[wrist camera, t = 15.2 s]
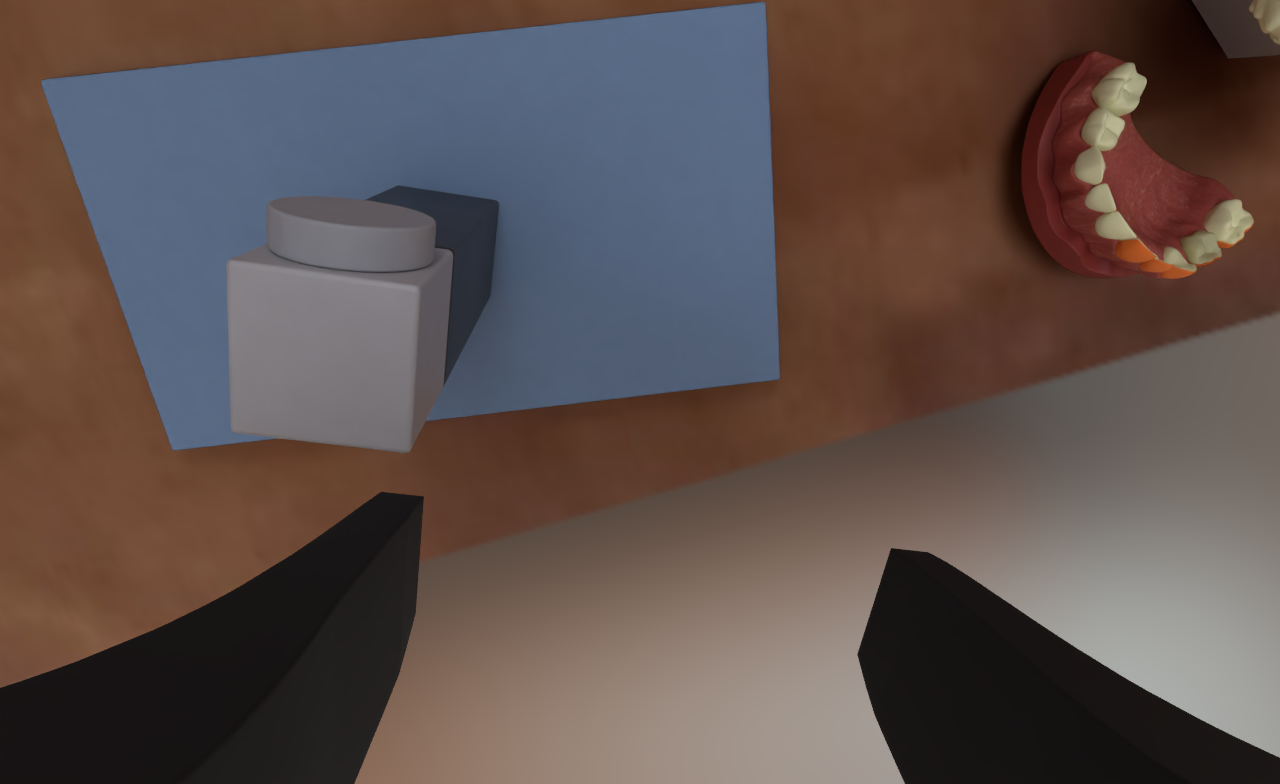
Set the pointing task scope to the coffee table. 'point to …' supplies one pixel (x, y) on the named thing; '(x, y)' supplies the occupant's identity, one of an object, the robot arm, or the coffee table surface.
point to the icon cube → (1236, 28)
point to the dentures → (1120, 178)
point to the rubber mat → (465, 165)
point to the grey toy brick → (355, 314)
